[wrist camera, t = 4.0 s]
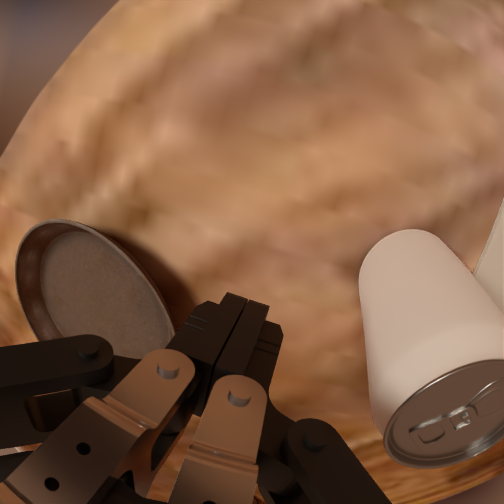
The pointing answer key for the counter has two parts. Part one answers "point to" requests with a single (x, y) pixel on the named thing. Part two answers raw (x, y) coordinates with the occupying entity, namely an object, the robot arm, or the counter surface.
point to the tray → (493, 262)
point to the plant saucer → (89, 289)
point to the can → (431, 352)
